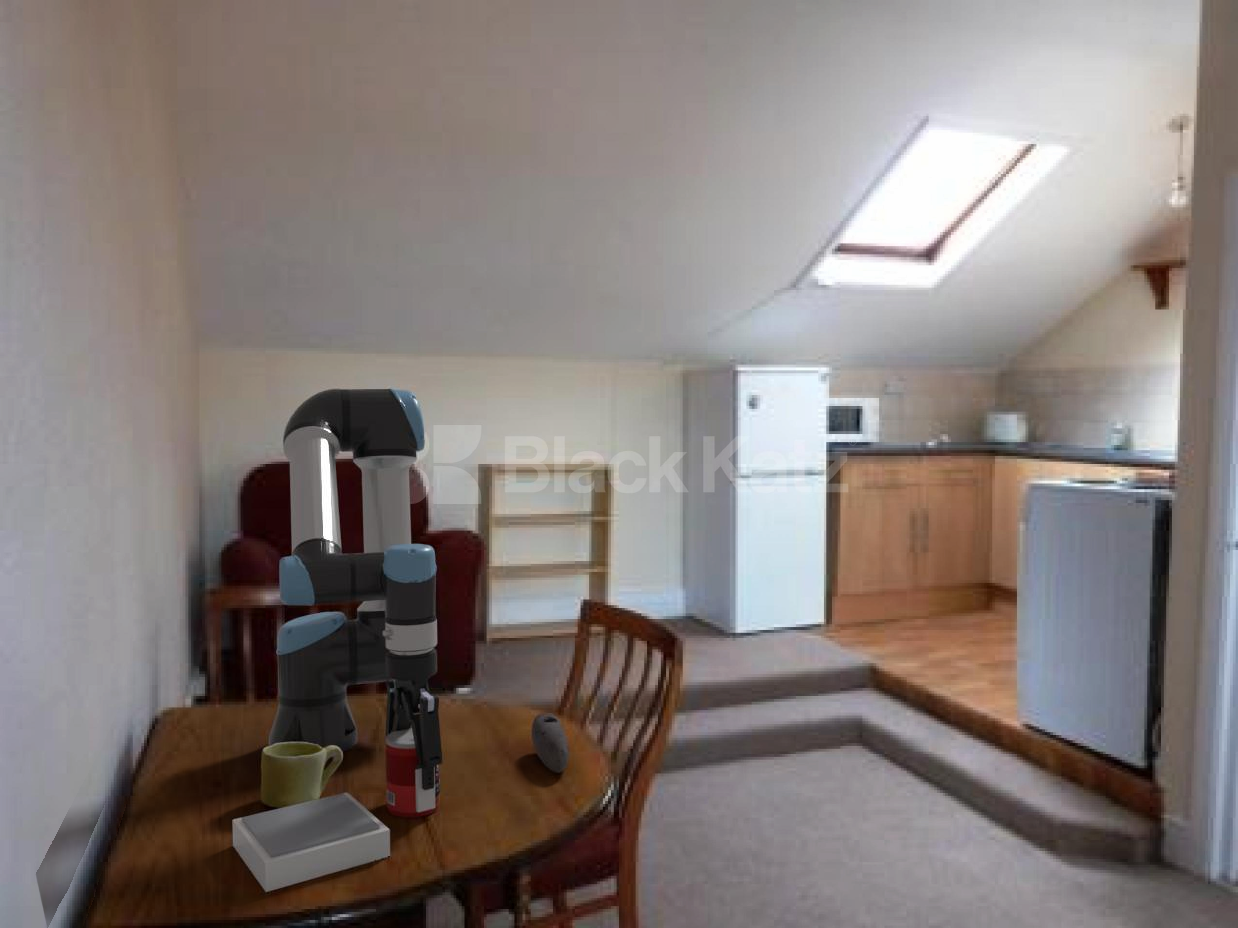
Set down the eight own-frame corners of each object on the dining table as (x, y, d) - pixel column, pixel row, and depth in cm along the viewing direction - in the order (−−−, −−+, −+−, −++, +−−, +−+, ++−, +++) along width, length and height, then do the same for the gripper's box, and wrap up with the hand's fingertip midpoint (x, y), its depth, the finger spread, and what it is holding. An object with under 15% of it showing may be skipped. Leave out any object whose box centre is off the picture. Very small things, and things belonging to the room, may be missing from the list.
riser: (233, 845, 127) (232, 816, 127) (347, 816, 137) (347, 789, 136) (265, 891, 114) (265, 859, 114) (390, 856, 124) (389, 826, 124)
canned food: (428, 820, 135) (427, 745, 135) (377, 816, 136) (376, 742, 136) (448, 799, 142) (447, 728, 142) (399, 796, 144) (398, 725, 144)
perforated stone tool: (575, 778, 151) (574, 736, 151) (543, 781, 150) (542, 739, 149) (559, 748, 166) (559, 709, 165) (530, 750, 164) (529, 711, 164)
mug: (256, 809, 134) (267, 737, 138) (249, 807, 143) (260, 739, 147) (342, 811, 139) (351, 742, 143) (331, 809, 148) (339, 744, 151)
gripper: (361, 640, 145) (363, 784, 146) (416, 666, 128) (418, 830, 129) (406, 633, 149) (409, 773, 150) (465, 658, 132) (467, 816, 133)
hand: (413, 799), depth 139 cm, fingers closed on canned food, 8 cm apart
